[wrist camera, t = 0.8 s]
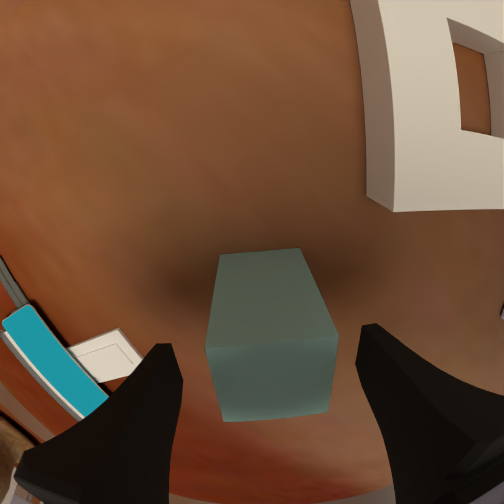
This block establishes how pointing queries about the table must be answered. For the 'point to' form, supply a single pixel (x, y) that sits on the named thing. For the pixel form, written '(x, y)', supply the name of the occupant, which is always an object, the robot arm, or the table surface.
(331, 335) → the peg
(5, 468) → the stone cup
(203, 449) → the table surface
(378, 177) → the socket block
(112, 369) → the teal sliding drawer box
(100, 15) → the table surface
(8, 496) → the gable box
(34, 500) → the small box
